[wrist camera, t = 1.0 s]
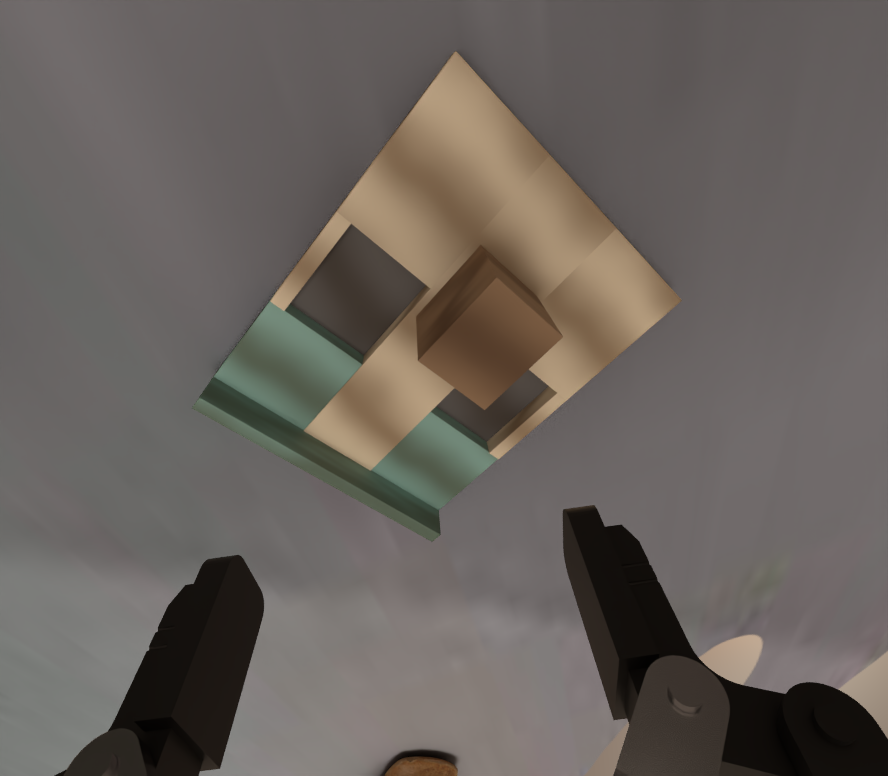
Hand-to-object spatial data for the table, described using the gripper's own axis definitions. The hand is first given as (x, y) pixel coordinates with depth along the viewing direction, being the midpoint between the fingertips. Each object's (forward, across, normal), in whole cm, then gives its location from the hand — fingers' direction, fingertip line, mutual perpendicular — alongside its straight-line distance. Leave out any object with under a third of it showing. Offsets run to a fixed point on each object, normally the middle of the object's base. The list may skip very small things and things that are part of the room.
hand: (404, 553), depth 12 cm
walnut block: (+21, -4, +3) cm, 21 cm away
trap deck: (+23, -1, +5) cm, 23 cm away
